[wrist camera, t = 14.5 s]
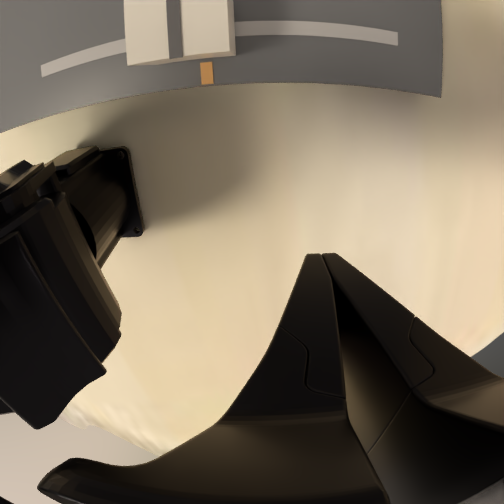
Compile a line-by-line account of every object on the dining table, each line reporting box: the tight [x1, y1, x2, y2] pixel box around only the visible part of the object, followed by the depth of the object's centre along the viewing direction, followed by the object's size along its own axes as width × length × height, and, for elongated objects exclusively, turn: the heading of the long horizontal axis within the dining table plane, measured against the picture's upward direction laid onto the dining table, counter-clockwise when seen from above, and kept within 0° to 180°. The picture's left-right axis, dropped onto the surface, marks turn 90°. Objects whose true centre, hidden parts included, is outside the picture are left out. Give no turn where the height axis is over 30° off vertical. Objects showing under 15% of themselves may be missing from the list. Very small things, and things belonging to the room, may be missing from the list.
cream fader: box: [124, 0, 236, 66], centre depth 11 cm, size 3×4×4 cm
